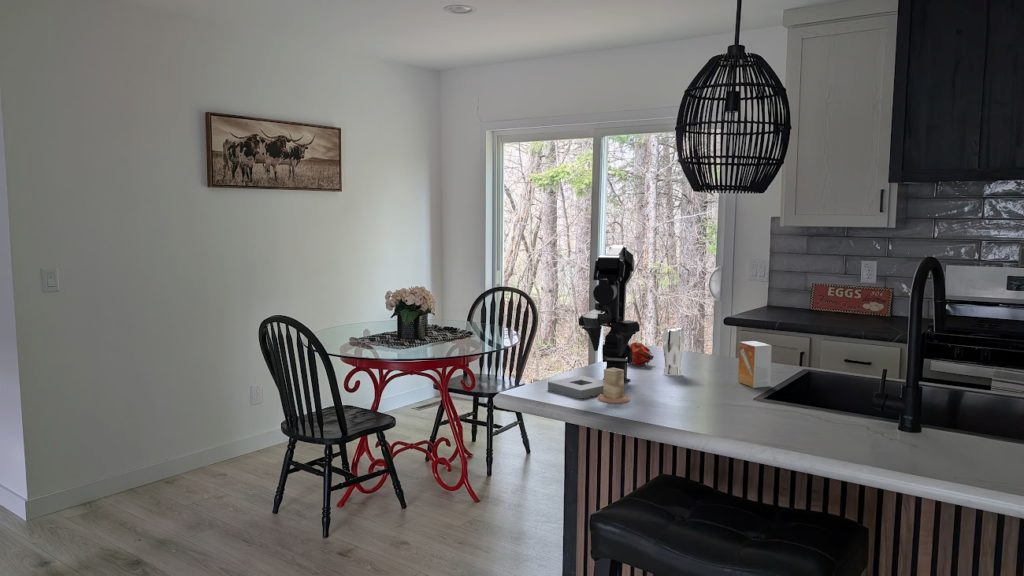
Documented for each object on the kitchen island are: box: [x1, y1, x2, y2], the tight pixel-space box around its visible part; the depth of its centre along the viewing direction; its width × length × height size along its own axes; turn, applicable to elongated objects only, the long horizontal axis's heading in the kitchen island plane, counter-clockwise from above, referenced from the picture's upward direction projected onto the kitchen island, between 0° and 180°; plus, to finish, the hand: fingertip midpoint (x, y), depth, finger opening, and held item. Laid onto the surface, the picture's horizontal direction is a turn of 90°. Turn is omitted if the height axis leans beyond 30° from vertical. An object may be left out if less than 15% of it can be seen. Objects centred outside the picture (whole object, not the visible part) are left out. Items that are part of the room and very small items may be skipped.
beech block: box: [603, 368, 625, 400], centre depth 208 cm, size 4×4×8 cm
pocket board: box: [547, 375, 604, 400], centre depth 218 cm, size 14×14×2 cm
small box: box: [737, 340, 773, 389], centre depth 227 cm, size 8×6×13 cm
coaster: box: [597, 394, 630, 404], centre depth 208 cm, size 9×9×1 cm
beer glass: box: [662, 327, 686, 377], centre depth 240 cm, size 7×7×15 cm
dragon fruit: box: [626, 341, 654, 367], centre depth 256 cm, size 8×8×12 cm
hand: (607, 353), depth 210 cm, fingers open, 9 cm apart
